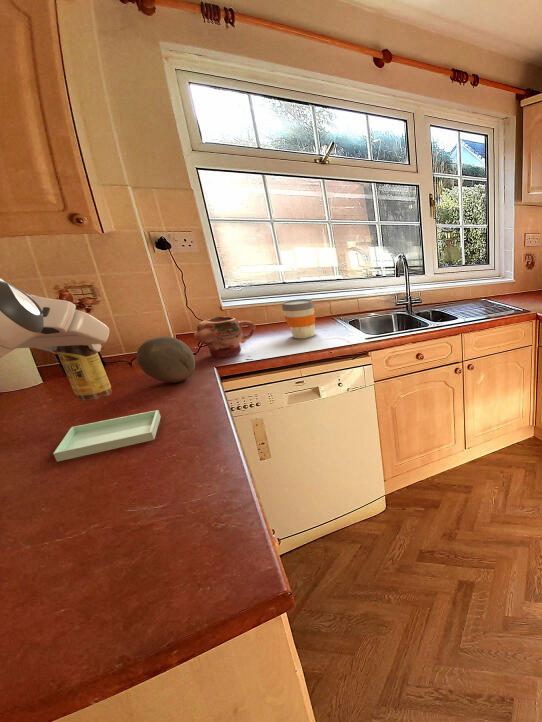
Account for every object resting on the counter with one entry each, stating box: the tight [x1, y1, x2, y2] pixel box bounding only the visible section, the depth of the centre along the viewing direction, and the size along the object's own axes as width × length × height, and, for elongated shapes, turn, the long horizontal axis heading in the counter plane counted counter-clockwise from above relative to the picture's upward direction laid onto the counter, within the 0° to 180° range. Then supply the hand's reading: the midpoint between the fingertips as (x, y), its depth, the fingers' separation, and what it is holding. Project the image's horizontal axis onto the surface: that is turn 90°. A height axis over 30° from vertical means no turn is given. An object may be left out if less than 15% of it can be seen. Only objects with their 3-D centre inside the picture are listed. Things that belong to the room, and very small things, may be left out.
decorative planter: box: [193, 316, 256, 358], centre depth 162 cm, size 20×12×14 cm, turn 133°
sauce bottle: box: [56, 345, 113, 402], centre depth 95 cm, size 7×6×20 cm
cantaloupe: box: [136, 336, 196, 384], centre depth 134 cm, size 14×14×15 cm
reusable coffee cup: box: [281, 298, 316, 339], centre depth 186 cm, size 13×13×15 cm
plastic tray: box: [52, 409, 162, 463], centre depth 102 cm, size 17×15×2 cm
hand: (79, 349), depth 95 cm, fingers closed on sauce bottle, 6 cm apart
